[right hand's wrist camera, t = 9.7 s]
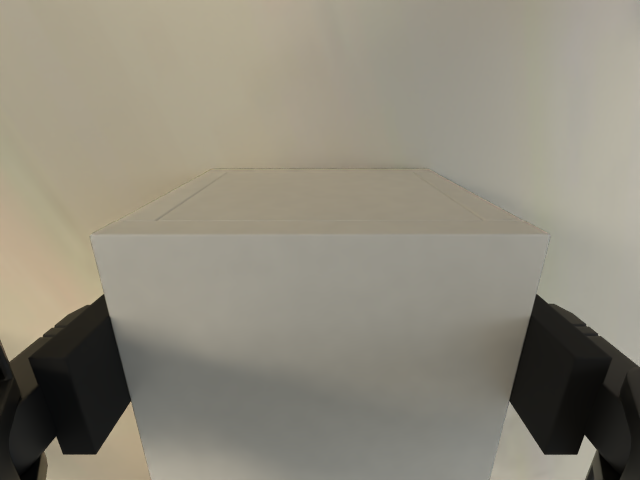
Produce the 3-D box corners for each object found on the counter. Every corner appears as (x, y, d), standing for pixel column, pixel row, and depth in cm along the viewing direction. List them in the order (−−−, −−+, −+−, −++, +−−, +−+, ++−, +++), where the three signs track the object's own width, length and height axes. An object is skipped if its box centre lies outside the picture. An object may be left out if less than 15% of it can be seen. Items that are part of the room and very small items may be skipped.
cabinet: (394, 486, 24) (435, 696, 15) (246, 485, 24) (205, 696, 15) (429, 168, 16) (552, 234, 8) (210, 168, 16) (87, 234, 8)
